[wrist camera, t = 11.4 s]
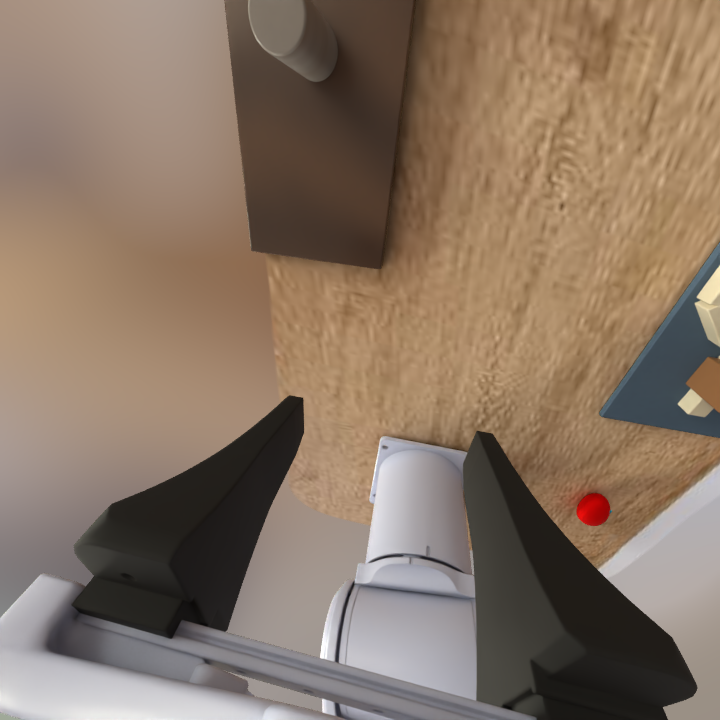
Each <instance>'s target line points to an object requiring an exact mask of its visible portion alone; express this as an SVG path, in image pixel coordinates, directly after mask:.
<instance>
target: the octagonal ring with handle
mask: <svg viewBox="0 0 720 720" xmlns="http://www.w3.org/2000/svg"><path fill="white" fill-rule="evenodd" d="M697 298H698V299H700V301H698V302H696V303H695V306H696V309H697V311H698V314H699V317H700V319H701V322H702V325H703V327H704V330H705V333H706V335H707V338H708V340H710V341H711V342H713V343H714V344H716V345H718V346H719V347H720V265H719V267H718V268H717V269H716V271H715V272H714V274H713V275H712V276H711V278H710V279H709V280H708V282H707V283H706V284H705V286H704V287H703V289H702V290H701V291H700V293H699V294H698V295H697ZM686 385H687V386H689V387H690V388H691V389H690V390H689V391H688V392H687V394H686V395H685V396H684V397H683V398H682V399H681V400H680V402H679V403H678V405H679V406H680V407H681V408H682V409H683V410H684V411H685V412H686V413H687V414H689V415H695V416H700V417H706V416H707V415H708V414H709V413H710V412H711V411H712V410H713V409H715V410H716V411H717V412H719V413H720V356H719V357H718V358H714V357H707V358H706V360H705V361H704V362H703V363H702V364H701V365H700V367H699V368H698V369H697V370H696V371H695V372H694V374H693V375H692V376H691V377H690V378H689V379H688V381H687V382H686Z"/></svg>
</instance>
